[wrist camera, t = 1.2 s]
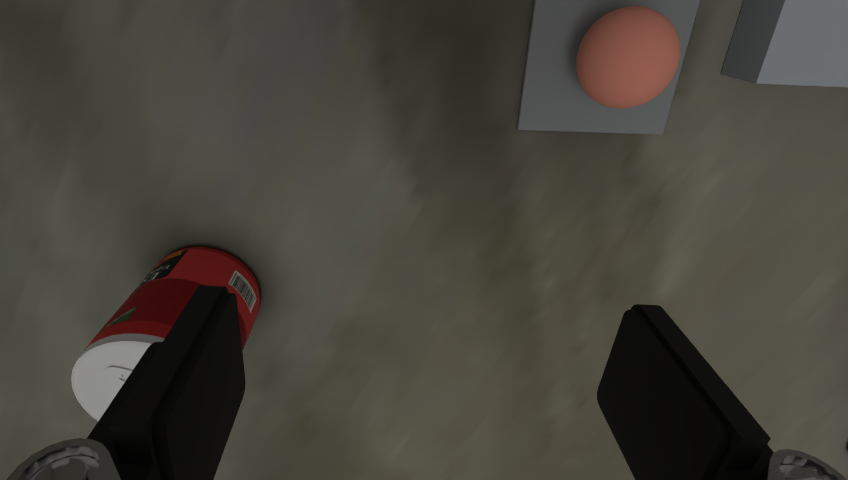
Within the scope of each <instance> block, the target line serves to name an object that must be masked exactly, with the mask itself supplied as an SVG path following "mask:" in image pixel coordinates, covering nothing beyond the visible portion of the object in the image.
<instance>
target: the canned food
mask: <svg viewBox="0 0 848 480" xmlns="http://www.w3.org/2000/svg"><path fill="white" fill-rule="evenodd" d="M200 285H207V286H226V287H227V289H228V292H229V293H235V294H236V297H237V305H238V315H239V325H240V334H241V344H242V351H243V348H244V346H245V343H246V341H247V338H248V336H249V333H250V331H251V328H252V326H253V323H254V321H255V318H256V316H257V313H258V311H259V307H260V294H259V288H258V284H257V282H256V279H255V277H254V276H253V274H252V273H251V271H250V270H249V269H248V268H247V267H246V266H245V265H244V264H243V263H242V262H241V261H239V260H238V259H237V258H235V257H233V256H232V255H230V254H228V253H226V252H223V251H220V250H217V249H213V248H208V247H190V248H185V249H182V250H179V251H176V252H174V253H172V254H170V255H168V256H166V257H165V258H163V259H162V260H161V261H160V262H159V263H158V264H157V265H156V266H155V267H154V269H153V270H152V271H151V272H150V273H149V274H148V276H147V277H146V278H145V279H144V280H143V281H142V283H141V284H140V285H139V286H138V287H137V288H136V290H135V291H134V292H133V293H132V294H131V295H130V297H129V298H128V299H127V300H126V301H125V302H124V304H123V305H122V306H121V307H120V308H119V309H118V311H117V312H116V313H115V314H114V315H113V316H112V318H111V319H110V320H109V321H108V322H107V323H106V325H105V326H104V327H103V328H102V329H101V330H100V332H99V333H98V334H97V335H96V336H95V337H94V339H93V340H92V341H91V343H90V344H89V345H88V346H87V348H86V349H85V350H84V351H83V352H82V354H81V356H80V358H79V359H78V360H77V362H76V364H75V366H74V368H73V371H72V377H71V381H72V388H73V391H74V393H75V396H76V398H77V400H78V401H79V403H80V404H81V405H82V407H83V408H84V409H85V410H86V411H87V412H88V413H89V414H90V415H91V416H92V417H93V418H95V419H96V420H97V421H99V420H100V418H101V417H102V415H103V414H104V412H105V411H106V409H107V408H108V406H109V405H110V403H111V402H112V400H113V399H114V397H115V396H116V394H117V393H118V392H119V390H120V389H121V387H122V386H123V384H124V383H125V381H126V380H127V378H128V377H129V375H130V374H131V372H132V371H133V369H134V368H135V366H136V365H137V363H138V362H139V360H140V359H141V357H142V356H143V354H144V353H145V351H146V350H147V348H148V347H149V346H150V345H151V344H152V343H154V342H163V341H164V339H165V337H166V336H167V334H168V333H169V331H170V330H171V328H172V327H173V325H174V323H175V322H176V320H177V319H178V317H179V316H180V314H181V312H182V311H183V309H184V308H185V306H186V305H187V303H188V302H189V300H190V298H191V297H192V295H193V294H194V292H195V291H196V289H197V288H198V287H199V286H200Z"/></svg>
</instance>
